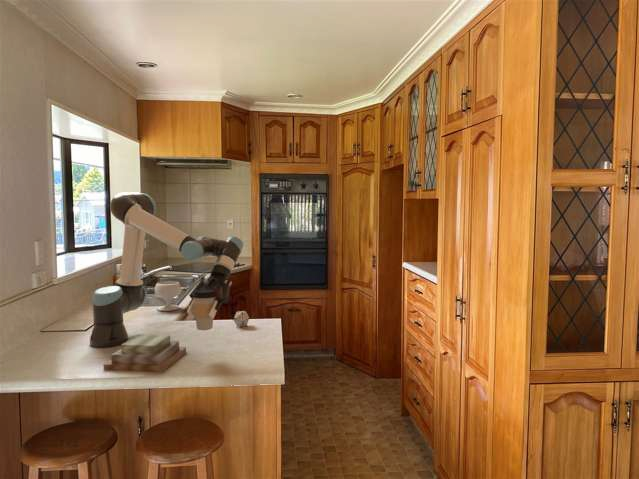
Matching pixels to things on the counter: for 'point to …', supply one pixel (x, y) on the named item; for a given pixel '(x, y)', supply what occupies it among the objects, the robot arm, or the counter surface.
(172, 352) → the tower base
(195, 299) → the coffee cup
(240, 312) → the game die
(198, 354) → the counter surface
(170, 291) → the chalice
